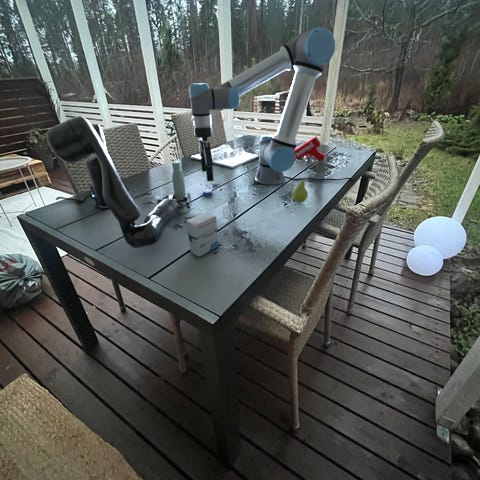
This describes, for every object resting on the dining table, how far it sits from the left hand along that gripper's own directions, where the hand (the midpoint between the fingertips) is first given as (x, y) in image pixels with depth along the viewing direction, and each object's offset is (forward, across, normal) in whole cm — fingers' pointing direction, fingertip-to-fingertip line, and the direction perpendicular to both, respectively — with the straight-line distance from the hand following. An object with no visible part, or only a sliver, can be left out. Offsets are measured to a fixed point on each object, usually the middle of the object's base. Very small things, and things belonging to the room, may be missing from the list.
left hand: (182, 194), depth 113 cm
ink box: (-28, -18, +6) cm, 34 cm away
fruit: (+16, -48, +6) cm, 51 cm away
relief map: (+77, +2, +6) cm, 77 cm away
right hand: (+16, -6, -3) cm, 17 cm away
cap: (+16, -5, +5) cm, 17 cm away
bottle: (-3, 0, +6) cm, 7 cm away
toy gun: (+80, -51, +6) cm, 95 cm away
